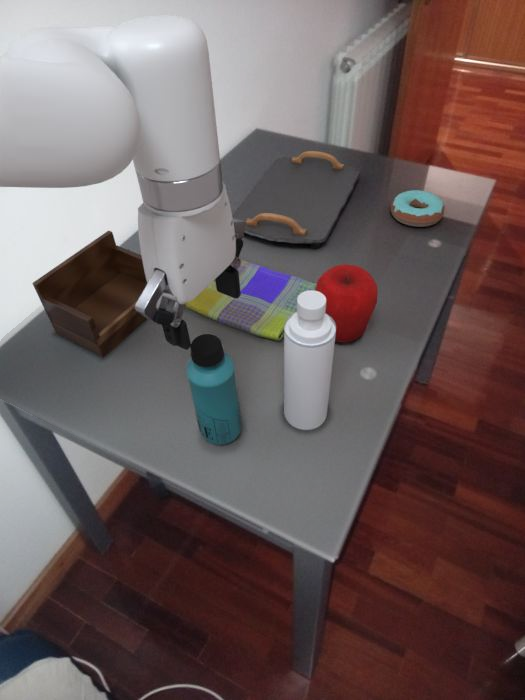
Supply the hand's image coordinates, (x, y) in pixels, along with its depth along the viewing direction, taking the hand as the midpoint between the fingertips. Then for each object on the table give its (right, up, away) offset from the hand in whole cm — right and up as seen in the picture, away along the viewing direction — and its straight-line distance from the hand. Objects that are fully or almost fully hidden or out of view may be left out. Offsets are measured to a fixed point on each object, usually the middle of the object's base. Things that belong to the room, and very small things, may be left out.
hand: (204, 317), depth 57 cm
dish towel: (+4, +6, +39) cm, 39 cm away
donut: (+42, +27, +57) cm, 76 cm away
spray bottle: (+13, -14, +20) cm, 28 cm away
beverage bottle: (+1, -17, +18) cm, 24 cm away
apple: (+21, -1, +32) cm, 38 cm away
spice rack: (-22, +3, +36) cm, 42 cm away
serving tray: (+15, +31, +62) cm, 71 cm away
